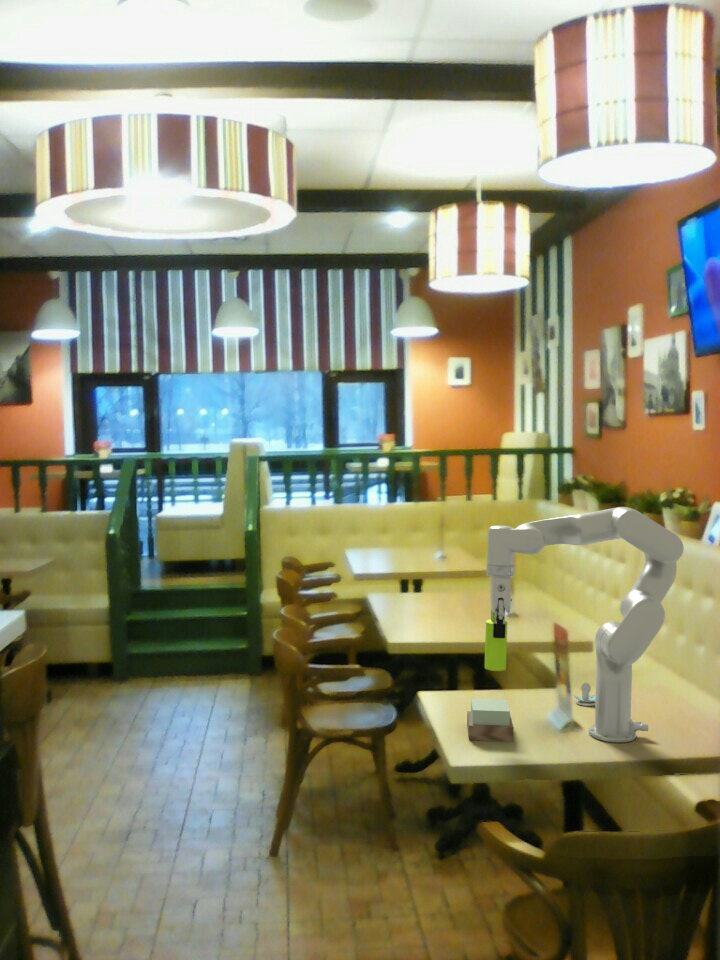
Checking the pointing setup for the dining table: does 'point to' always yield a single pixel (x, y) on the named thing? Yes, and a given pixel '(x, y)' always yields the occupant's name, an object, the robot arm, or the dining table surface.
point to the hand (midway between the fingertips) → (498, 634)
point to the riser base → (489, 731)
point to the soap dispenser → (495, 647)
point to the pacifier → (586, 696)
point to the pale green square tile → (490, 712)
